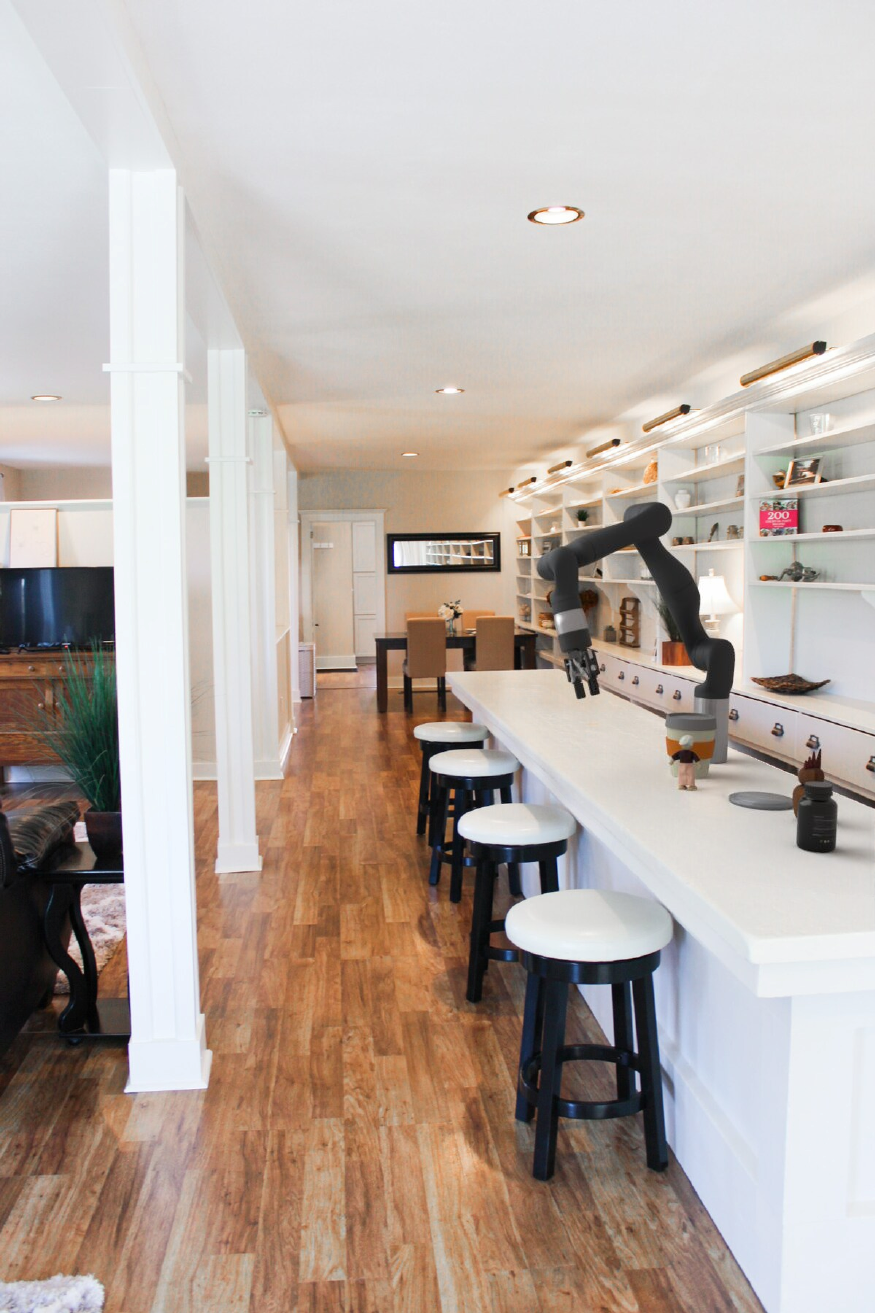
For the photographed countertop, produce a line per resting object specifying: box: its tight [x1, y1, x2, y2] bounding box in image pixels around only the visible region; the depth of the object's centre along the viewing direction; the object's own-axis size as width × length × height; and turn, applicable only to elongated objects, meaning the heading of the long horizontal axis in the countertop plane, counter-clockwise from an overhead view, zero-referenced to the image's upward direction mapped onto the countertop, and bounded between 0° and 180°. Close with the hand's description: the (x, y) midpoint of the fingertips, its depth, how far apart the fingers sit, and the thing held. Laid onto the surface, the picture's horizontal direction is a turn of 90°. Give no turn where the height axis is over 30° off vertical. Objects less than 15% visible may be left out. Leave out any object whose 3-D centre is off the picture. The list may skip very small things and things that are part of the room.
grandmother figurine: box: [668, 735, 702, 791], centre depth 220 cm, size 8×4×13 cm, turn 71°
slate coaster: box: [728, 791, 793, 811], centre depth 208 cm, size 14×14×1 cm
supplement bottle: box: [795, 781, 839, 854], centre depth 172 cm, size 7×7×12 cm
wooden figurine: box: [791, 748, 826, 819], centre depth 191 cm, size 7×6×15 cm
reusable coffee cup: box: [664, 712, 717, 780], centre depth 235 cm, size 13×13×15 cm
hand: (588, 696), depth 222 cm, fingers open, 8 cm apart
